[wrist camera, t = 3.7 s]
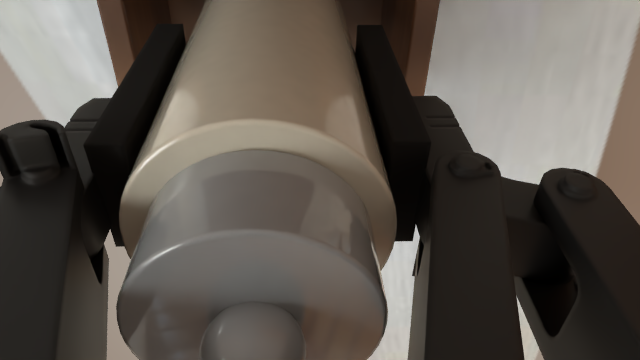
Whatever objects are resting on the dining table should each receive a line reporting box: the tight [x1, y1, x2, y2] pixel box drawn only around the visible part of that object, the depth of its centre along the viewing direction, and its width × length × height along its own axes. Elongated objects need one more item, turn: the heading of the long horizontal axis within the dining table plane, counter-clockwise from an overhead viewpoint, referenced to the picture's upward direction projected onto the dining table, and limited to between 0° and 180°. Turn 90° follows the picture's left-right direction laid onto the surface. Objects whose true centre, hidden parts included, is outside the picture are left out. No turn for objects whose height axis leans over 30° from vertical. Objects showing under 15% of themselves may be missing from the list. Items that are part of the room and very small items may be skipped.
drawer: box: [97, 0, 440, 96], centre depth 19 cm, size 19×12×7 cm, turn 179°
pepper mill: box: [116, 0, 397, 360], centre depth 14 cm, size 5×5×17 cm
